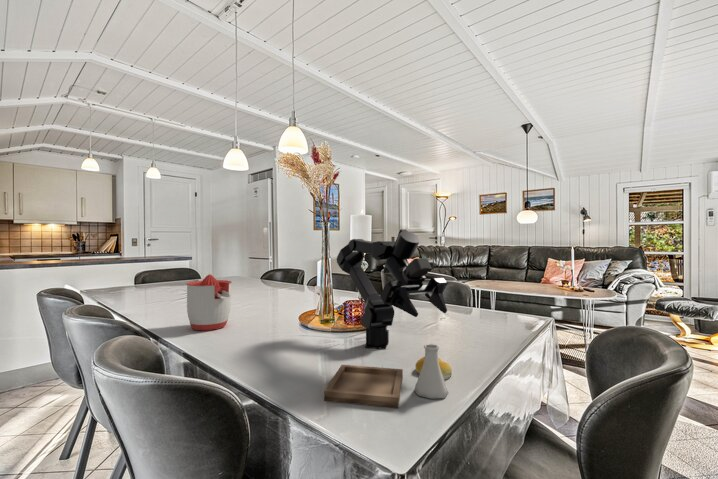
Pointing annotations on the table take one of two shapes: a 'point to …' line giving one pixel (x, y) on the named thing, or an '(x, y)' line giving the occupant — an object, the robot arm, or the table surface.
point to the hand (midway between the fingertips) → (431, 313)
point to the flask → (431, 375)
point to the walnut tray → (365, 386)
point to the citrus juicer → (208, 303)
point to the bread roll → (444, 366)
